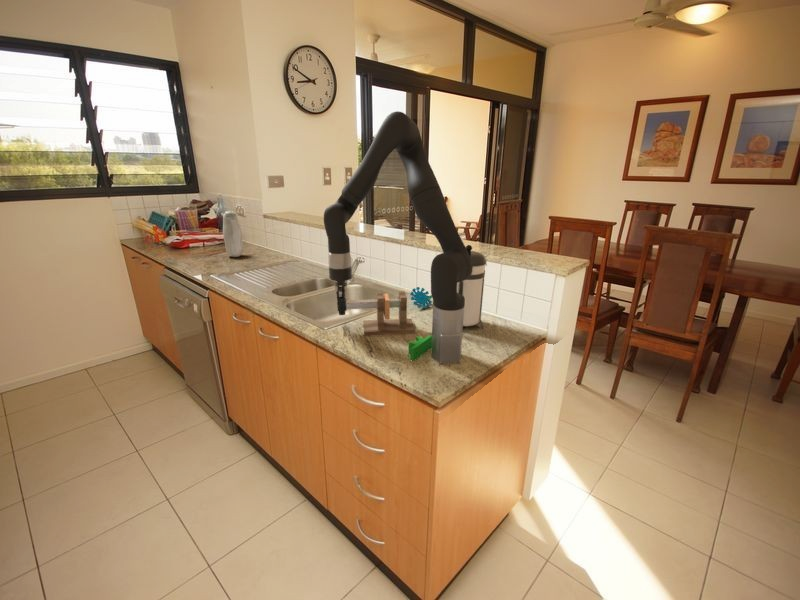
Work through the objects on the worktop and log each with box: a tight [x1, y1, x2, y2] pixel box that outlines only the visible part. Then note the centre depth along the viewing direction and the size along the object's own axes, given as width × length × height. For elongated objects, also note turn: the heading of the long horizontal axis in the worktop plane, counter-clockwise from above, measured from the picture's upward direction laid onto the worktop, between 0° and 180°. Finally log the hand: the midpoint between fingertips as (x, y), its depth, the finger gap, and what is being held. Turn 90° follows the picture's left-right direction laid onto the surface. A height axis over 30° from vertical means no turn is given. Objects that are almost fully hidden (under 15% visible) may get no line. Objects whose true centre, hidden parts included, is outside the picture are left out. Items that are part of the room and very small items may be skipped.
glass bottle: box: [222, 210, 244, 258], centre depth 229 cm, size 10×10×28 cm
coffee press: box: [457, 244, 488, 329], centre depth 134 cm, size 17×16×30 cm
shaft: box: [336, 298, 400, 312], centre depth 131 cm, size 3×23×3 cm, turn 96°
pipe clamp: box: [408, 334, 432, 362], centre depth 118 cm, size 11×4×5 cm, turn 145°
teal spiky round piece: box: [409, 286, 433, 310], centre depth 157 cm, size 11×6×10 cm
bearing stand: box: [362, 290, 416, 337], centre depth 133 cm, size 10×18×13 cm, turn 97°
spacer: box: [383, 293, 391, 320], centre depth 132 cm, size 7×2×7 cm, turn 7°
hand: (342, 312), depth 131 cm, fingers closed on shaft, 3 cm apart
